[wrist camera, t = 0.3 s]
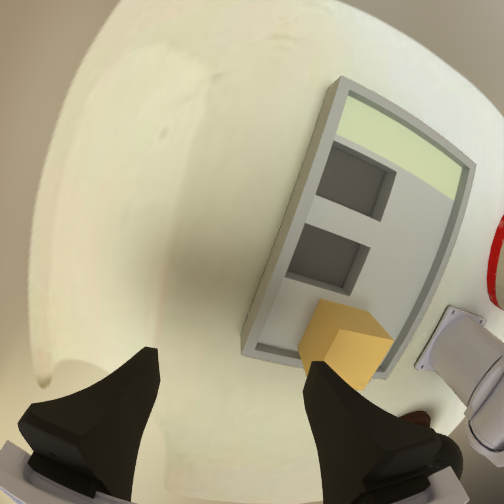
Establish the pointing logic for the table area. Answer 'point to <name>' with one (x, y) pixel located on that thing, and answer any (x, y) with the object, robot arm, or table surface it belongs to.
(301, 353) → the block
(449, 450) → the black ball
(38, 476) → the robot arm
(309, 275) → the box
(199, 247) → the table surface
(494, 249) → the kitchen timer
